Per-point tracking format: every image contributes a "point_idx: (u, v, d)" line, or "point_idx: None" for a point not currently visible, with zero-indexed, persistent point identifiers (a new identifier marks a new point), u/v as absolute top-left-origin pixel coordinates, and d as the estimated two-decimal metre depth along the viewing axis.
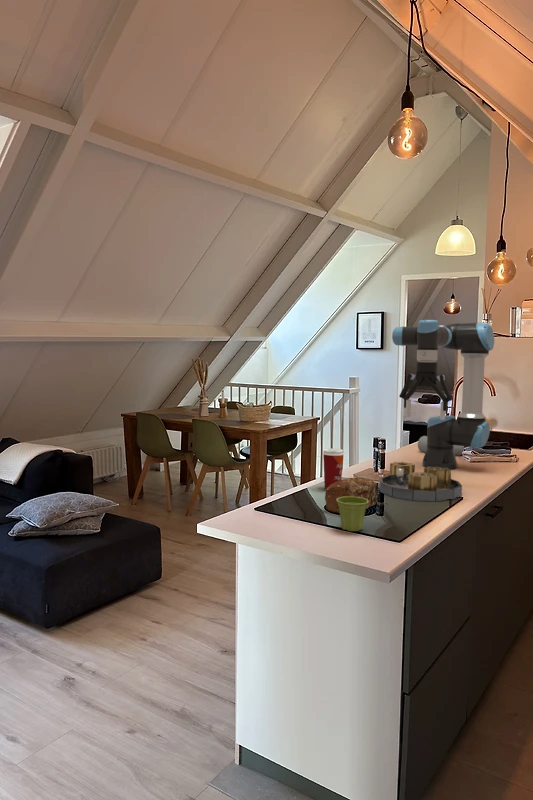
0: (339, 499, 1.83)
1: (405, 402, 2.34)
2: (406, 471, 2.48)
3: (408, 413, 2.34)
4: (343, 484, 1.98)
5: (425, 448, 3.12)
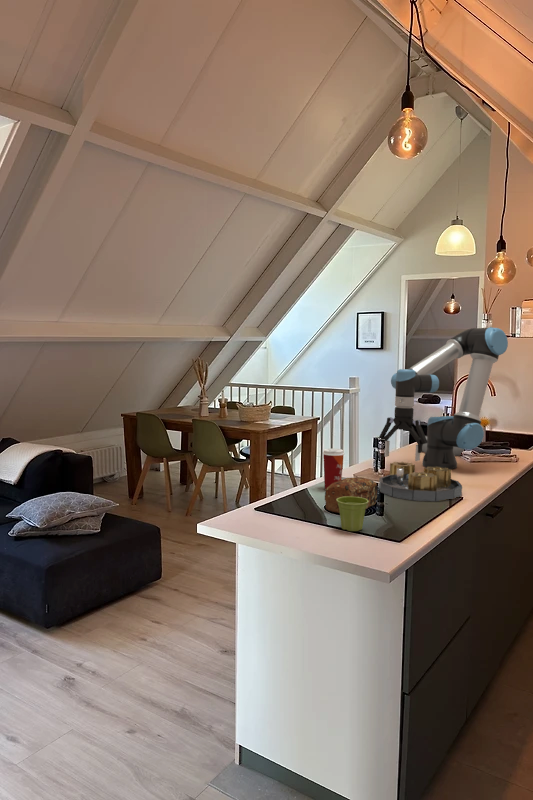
0: (339, 499, 1.83)
1: (384, 443, 2.55)
2: (406, 471, 2.48)
3: (387, 453, 2.55)
4: (343, 484, 1.98)
5: (425, 448, 3.12)
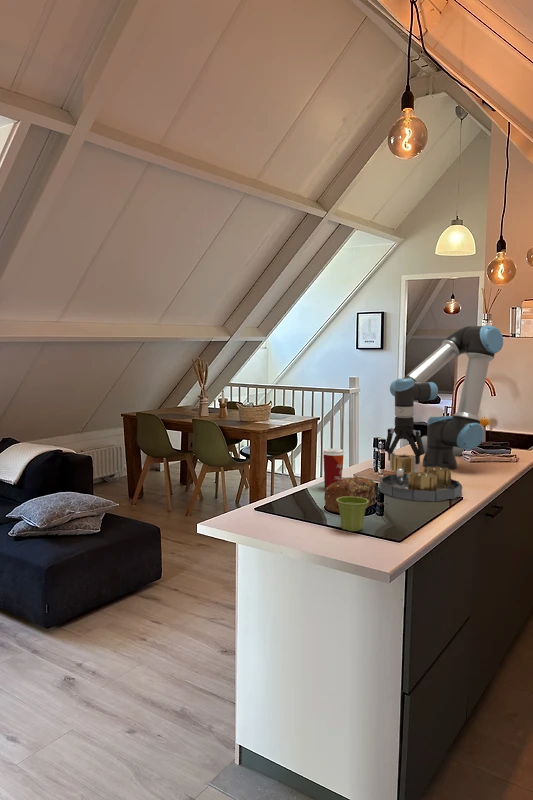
0: (339, 499, 1.83)
1: (389, 455, 2.55)
2: (408, 463, 2.48)
3: None
4: (342, 484, 1.98)
5: (425, 448, 3.13)
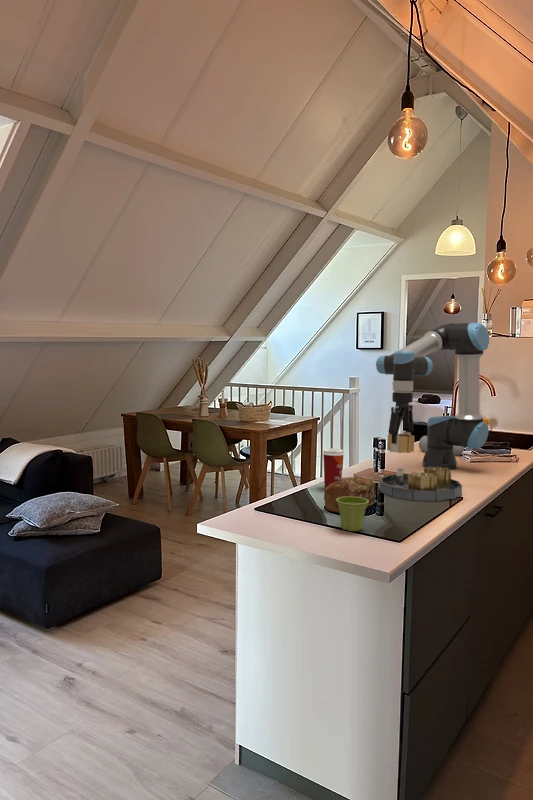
0: (339, 499, 1.83)
1: None
2: None
3: None
4: (342, 484, 1.98)
5: (426, 448, 3.13)
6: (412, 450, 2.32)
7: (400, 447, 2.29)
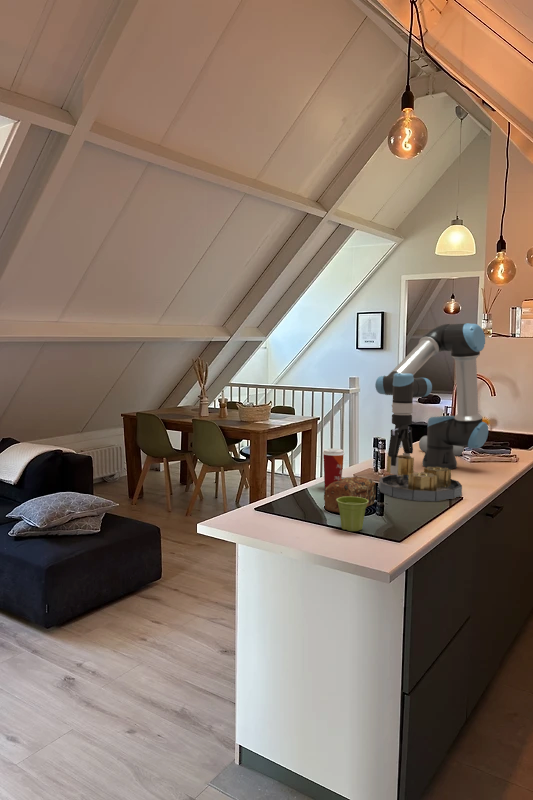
0: (339, 499, 1.83)
1: (405, 455, 2.39)
2: (390, 463, 2.33)
3: None
4: (342, 484, 1.98)
5: (426, 448, 3.13)
6: (411, 472, 2.33)
7: (399, 469, 2.29)
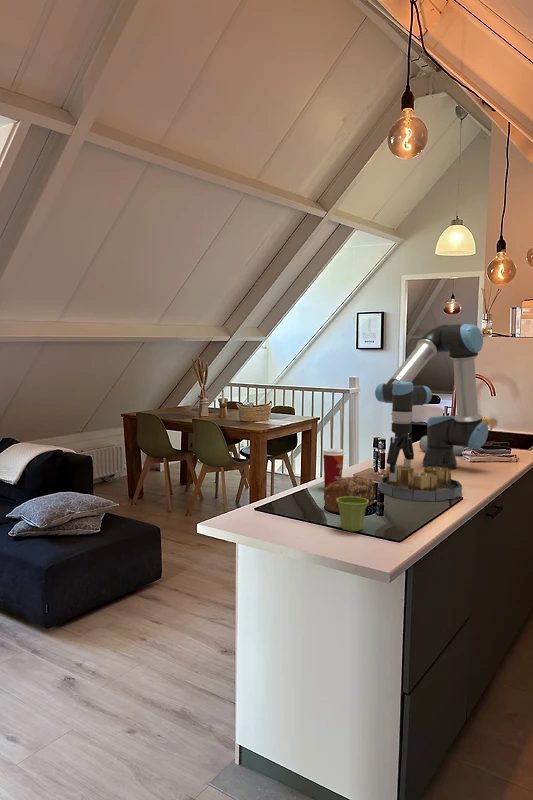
0: (339, 499, 1.83)
1: None
2: None
3: None
4: (342, 484, 1.98)
5: (426, 448, 3.13)
6: None
7: (399, 480, 2.30)
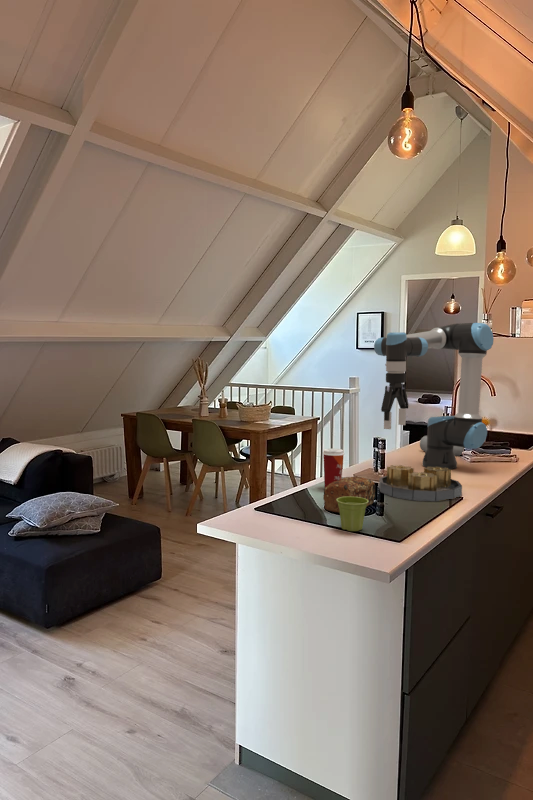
0: (339, 499, 1.83)
1: None
2: None
3: (401, 421, 2.44)
4: (341, 483, 1.99)
5: (426, 447, 3.14)
6: None
7: (399, 480, 2.30)
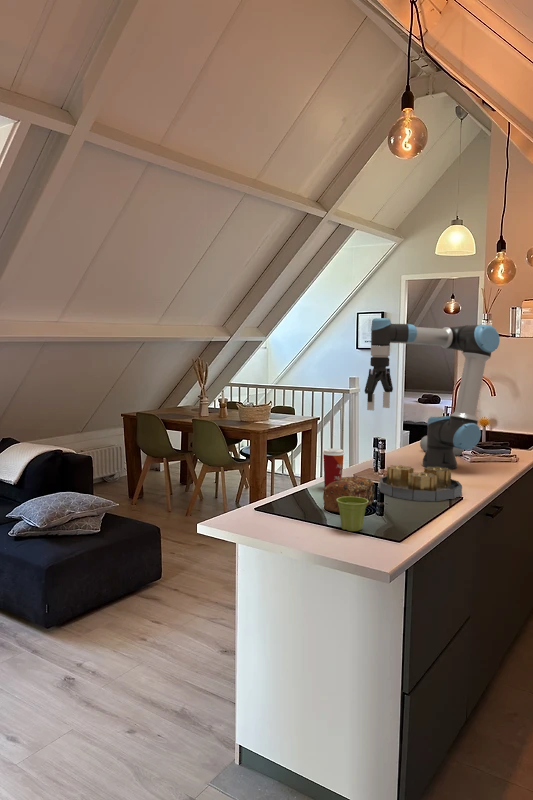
0: (339, 499, 1.83)
1: None
2: None
3: (385, 404, 2.55)
4: (341, 483, 1.99)
5: (426, 447, 3.14)
6: None
7: (399, 480, 2.30)
